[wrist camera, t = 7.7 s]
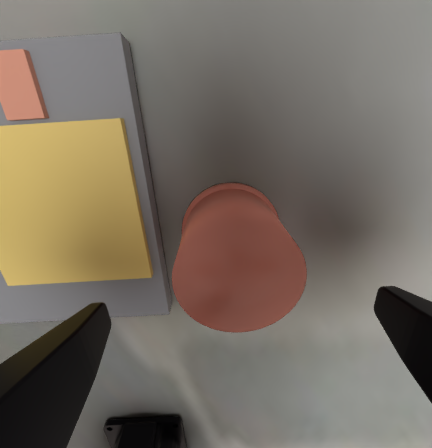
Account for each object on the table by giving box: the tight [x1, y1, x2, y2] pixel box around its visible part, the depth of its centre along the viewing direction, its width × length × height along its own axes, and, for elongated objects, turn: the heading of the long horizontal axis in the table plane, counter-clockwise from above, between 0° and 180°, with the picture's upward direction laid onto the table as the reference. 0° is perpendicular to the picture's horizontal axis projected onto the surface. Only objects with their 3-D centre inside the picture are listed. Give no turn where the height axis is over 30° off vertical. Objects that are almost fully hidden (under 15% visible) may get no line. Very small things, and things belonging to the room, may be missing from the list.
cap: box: [172, 183, 307, 332], centre depth 11 cm, size 5×5×5 cm
